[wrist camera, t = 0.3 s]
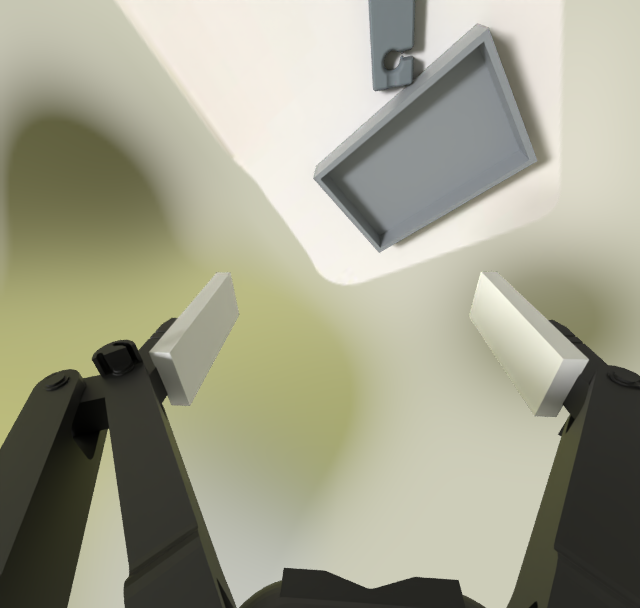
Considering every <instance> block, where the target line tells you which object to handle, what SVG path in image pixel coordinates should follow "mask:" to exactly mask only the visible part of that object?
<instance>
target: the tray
mask: <svg viewBox="0 0 640 608" xmlns="http://www.w3.org/2000/svg"><path fill="white" fill-rule="evenodd" d="M535 162H537V158H536V155H535V153H534V150H533V147H532V145H531V142H530V139H529V136H528V134H527V131H526V128H525V126H524V123H523V120H522V117H521V115H520V112H519V109H518V106H517V104H516V101H515V98H514V96H513V93H512V90H511V87H510V85H509V82H508V79H507V77H506V74H505V71H504V68H503V66H502V63H501V60H500V57H499V55H498V52H497V49H496V47H495V44H494V41H493V38H492V36H491V33H490V30H489V28H488V27H485V26H483V25H480V24H478V23H477V24H476V25H475V26H474V27H473V28H472V29H471V30H470V31H468V32H467V33H466V34H465V35H464V36H463V37H462V38H460V39H459V40H458V41H457V42H456V43H455V44H454V45H453V46H451V47H450V48H449V49H448V50H447V51H446V52H445V53H444V54H442V55H441V56H440V57H439V58H438V59H437V60H436V61H434V62H433V63H432V64H431V65H430V66H429V67H428V68H427V69H425V70H424V71H423V72H422V73H421V74H420V75H419V76H417V77H416V78H415V79H414V80H413V82H412V83H411V84H409V85H407V86H406V87H405V88H404V89H403V90H402V91H401V92H399V93H398V94H397V95H396V96H395V97H394V98H393V99H391V100H390V101H389V102H388V103H387V104H386V105H385V106H384V107H382V108H381V109H380V110H379V111H378V112H377V113H376V114H375V115H373V116H372V117H371V118H370V119H369V120H368V121H367V122H365V123H364V124H363V125H362V126H361V127H360V128H359V129H358V130H356V131H355V132H354V133H353V134H352V135H351V136H350V137H348V138H347V139H346V140H345V141H344V142H343V143H342V144H341V145H339V146H338V147H337V148H336V149H335V150H334V151H333V152H332V153H330V154H329V155H328V156H327V157H326V158H325V159H324V160H322V161H321V162H320V163H319V164H318V165H317V166H316V169H315V173H314V178H313V179H314V180H315V181H316V182H317V183H318V184H319V185H320V187H321V188H322V189H323V190H324V191H325V192H326V193H327V194H328V196H329V197H330V198H331V199H332V200H333V201H334V202H335V203H336V205H337V206H338V207H339V208H340V209H341V210H342V211H343V212H344V214H345V215H346V216H347V217H348V218H349V219H350V220H351V221H352V223H353V224H354V225H355V226H356V227H357V228H358V229H359V230H360V232H361V233H362V234H363V235H364V236H365V237H366V238H367V240H368V241H369V242H370V243H371V244H372V245H373V246H374V247H375V249H376V250H377V251H378V252H379V253H380V252H381V251H383V250H385V249H387V248H388V247H390V246H392V245H393V244H395V243H397V242H399V241H400V240H402V239H404V238H406V237H407V236H409V235H411V234H412V233H414V232H416V231H418V230H419V229H421V228H423V227H424V226H426V225H428V224H430V223H431V222H433V221H435V220H437V219H438V218H440V217H442V216H443V215H445V214H447V213H449V212H450V211H452V210H454V209H456V208H457V207H459V206H461V205H462V204H464V203H466V202H468V201H469V200H471V199H473V198H474V197H476V196H478V195H480V194H481V193H483V192H485V191H487V190H488V189H490V188H492V187H493V186H495V185H497V184H499V183H500V182H502V181H504V180H506V179H507V178H509V177H511V176H512V175H514V174H516V173H518V172H519V171H521V170H523V169H524V168H526V167H528V166H530V165H531V164H533V163H535Z"/></svg>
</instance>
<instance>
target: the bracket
mask: <svg viewBox="0 0 640 608" xmlns="http://www.w3.org/2000/svg"><path fill="white" fill-rule="evenodd" d="M368 1H369V20H370V39H371V58H372V78H373V90H374V91H379V90H384V89H388V88H391V87H397V86H404V85H409V84H411V83H412V82H413V57H412V56H408V57H404V58H403V56H401V58H400V62H399V65H398V66H397V67H396V68H395V69H394V70H388V69H386V68H385V66H384V58H385V56H386V54H387V53H388V52H390V51H393V50H394V51H397V52H401V54H402V53H403V51H406V50H410V49H412V47H413V46H414V19H415V0H368Z"/></svg>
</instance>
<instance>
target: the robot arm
mask: <svg viewBox="0 0 640 608" xmlns="http://www.w3.org/2000/svg"><path fill="white" fill-rule="evenodd" d="M238 316H239V311H238V307H237V302H236V297H235V292H234V287H233V283H232V278H231V273H230V272H217V273H216V274H215V275H214V276H213V277H212V279H211V280H210V281H209V282H208V283H207V284H206V286H205V287H204V288H203V289H202V290H201V291H200V293H199V294H198V295H197V296H196V297H195V299H194V300H193V301H192V302H191V303H190V304H189V306H188V307H187V308H186V309H185V310H184V312H183V313H182V314H181V315H180V316H179V317H178V318H171V319H170V320H168V321H167V322H165V323H163V324H162V325H161V326H160V327H159V328H158V329H157V331H156V333H154V334H153V335H152V336H151V337H150V339H148V341H147V342H146V343H145V344H144V345H143V346H142V347H141V348H140V349H139V350H138V349H137V347H136V345H135V343H134V342H133V341H130V340H119V341H115V342H112V343H109V344H107V345H105V346H103V347H102V348H100V349H99V350H97V351H96V352H95V353H94V355H93V357H92V361H93V362H94V364H95V366H96V368H97V369H98V371H99V373H100V375H98V376H93V377H88V378H82V377H81V375H80V374H79V372H78V371H76V370H72V369H69V370H62V371H59V372H56V373H53V374H51V375H49V376H47V377H46V378H44V379H43V380H42V381H40V382H39V383H38V384H37V385H36V386H35V387H34V389H33V391H32V392H31V394H30V396H29V398H28V400H27V402H26V403H25V405H24V407H23V409H22V410H21V412H20V414H19V416H18V418H17V420H16V421H15V423H14V425H13V427H12V429H11V431H10V432H9V434H8V436H7V438H6V440H5V442H4V443H3V445H2V447H1V449H0V608H67V606H68V602H69V596H70V593H71V588H72V584H73V580H74V575H75V571H76V566H77V562H78V558H79V553H80V549H81V544H82V540H83V536H84V531H85V527H86V522H87V518H88V514H89V509H90V505H91V500H92V496H93V492H94V487H95V483H96V479H97V474H98V470H99V465H100V461H101V457H102V452H103V447H104V443H105V438H106V434H107V430H108V429H109V430H110V437H111V443H112V451H113V458H114V464H115V472H116V479H117V486H118V492H119V499H120V507H121V513H122V520H123V527H124V534H125V541H126V548H127V555H128V562H129V577H128V578H127V579H126V581H125V583H124V604H125V608H236V605H235V602H234V599H233V597H232V594H231V592H230V589H229V587H228V584H227V582H226V580H225V577H224V575H223V572H222V569H221V567H220V564H219V561H218V558H217V555H216V552H215V550H214V547H213V544H212V541H211V538H210V536H209V533H208V530H207V527H206V524H205V522H204V519H203V516H202V513H201V511H200V508H199V505H198V502H197V499H196V496H195V494H194V491H193V488H192V485H191V482H190V479H189V477H188V474H187V471H186V468H185V465H184V463H183V460H182V457H181V454H180V451H179V448H178V446H177V443H176V440H175V437H174V435H173V432H172V429H171V426H170V423H169V420H168V418H167V415H166V412H165V409H164V407H163V405H162V402H163V401H164V399H165V398H166V396H168V398H169V400H170V403H171V405H182V406H183V405H184V406H190V405H191V403H192V401H193V399H194V397H195V395H196V394H197V392H198V390H199V388H200V386H201V384H202V383H203V381H204V379H205V377H206V375H207V373H208V372H209V370H210V368H211V366H212V364H213V362H214V360H215V359H216V357H217V355H218V353H219V351H220V349H221V348H222V346H223V344H224V342H225V340H226V338H227V336H228V335H229V333H230V331H231V329H232V327H233V325H234V323H235V322H236V320H237V318H238ZM469 317H470V319H471V320H472V322H473V323H474V325H475V326H476V328H477V329H478V331H479V332H480V334H481V336H482V337H483V339H484V340H485V342H486V343H487V345H488V346H489V348H490V349H491V351H492V352H493V354H494V355H495V357H496V358H497V360H498V361H499V363H500V364H501V366H502V368H503V369H504V371H505V372H506V374H507V375H508V377H509V378H510V380H511V381H512V382H513V384H514V386H515V387H516V389H517V390H518V392H519V393H520V395H521V396H522V398H523V399H524V401H525V403H526V404H527V406H528V407H529V409H530V410H531V412H532V413H533V415H534V416H545V417H557V415H558V413H559V412H560V410H561V408H562V406H563V405H564V406H565V408H566V409H567V410H568V412H569V413H570V416H569V417H568V419H567V421H566V422H565V424H564V426H563V427H562V429H561V431H560V432H559V434H558V435H560V436H561V440H560V443H559V446H558V450H557V453H556V456H555V459H554V463H553V466H552V469H551V472H550V475H549V479H548V482H547V485H546V489H545V492H544V495H543V498H542V502H541V505H540V508H539V511H538V515H537V518H536V521H535V525H534V528H533V531H532V534H531V537H530V541H529V544H528V547H527V550H526V554H525V557H524V560H523V564H522V567H521V570H520V573H519V577H518V580H517V583H516V587H515V589H514V592H513V595H512V597H511V600H510V602H509V604H508V606H507V608H640V376H639V375H638V374H636V373H634V372H632V371H629V370H627V369H625V368H621V367H617V366H610V365H607V364H606V363H605V362H604V361H603V360H602V359H601V358H600V357H598V356H597V355H596V354H595V353H594V352H593V351H592V350H591V349H590V348H589V347H587V346H586V345H585V344H583V343H582V341H581V340H580V339H579V338H577V337H575V335H574V334H573V333H572V332H571V331H570V330H569V329H568V328H567V327H565V326H563V325H561V324H559V323H558V322H556V321H554V320H547V319H546V318H545V317H544V316H543V315H542V314H541V313H540V312H539V311H538V310H537V309H536V308H535V307H533V306H532V305H531V304H530V303H529V302H528V301H527V300H526V299H525V298H524V297H523V296H522V295H521V294H520V293H519V292H518V291H517V290H516V289H515V288H514V287H513V286H512V285H510V284H509V283H508V282H507V281H506V280H505V279H504V278H503V277H502V276H501V275H500V274H499V273H498V272H497V271H481V273H480V277H479V281H478V285H477V288H476V292H475V296H474V300H473V303H472V307H471V311H470V314H469ZM239 608H485V607H484V606H482V605H481V604H480V603H477V602H476V601H474V600H472V599H471V598H469V597H467V596H464V595H462V592H461V588H460V584H459V581H458V580H449V579H436V578H422V577H421V578H420V577H413V578H410V579H406V580H403V581H399V582H396V583H392V584H388V585H385V586H381V587H378V588H374V589H368V588H365V587H363V586H360V585H358V584H356V583H353V582H351V581H348V580H346V579H343V578H341V577H339V576H336V575H334V574H332V573H329V572H327V571H321V570H307V569H293V568H284V570H283V578H282V581H278V582H275V583H273V584H271V585H268V586H266V587H264V588H263V589H262V590H260V591H258V592H256V593H255V594H254V595H252V596H251V597H250V598H249V599H248V600H247V601H245V602H244V603H243V604H242V605H241V606H240V607H239Z"/></svg>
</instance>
